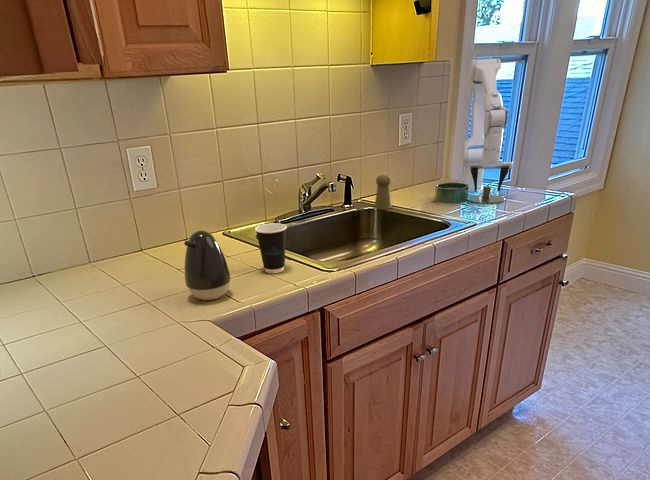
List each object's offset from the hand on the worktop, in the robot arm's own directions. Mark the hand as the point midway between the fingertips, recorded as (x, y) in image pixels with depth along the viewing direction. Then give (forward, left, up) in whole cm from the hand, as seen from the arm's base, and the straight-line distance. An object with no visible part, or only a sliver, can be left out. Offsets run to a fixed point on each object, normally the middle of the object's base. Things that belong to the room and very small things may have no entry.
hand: (486, 190), depth 176 cm
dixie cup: (+78, -52, -4) cm, 94 cm away
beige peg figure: (+10, -35, -4) cm, 37 cm away
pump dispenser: (+97, -61, -4) cm, 115 cm away
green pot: (0, -12, -4) cm, 13 cm away
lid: (0, 0, -3) cm, 3 cm away
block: (0, -12, -3) cm, 12 cm away
